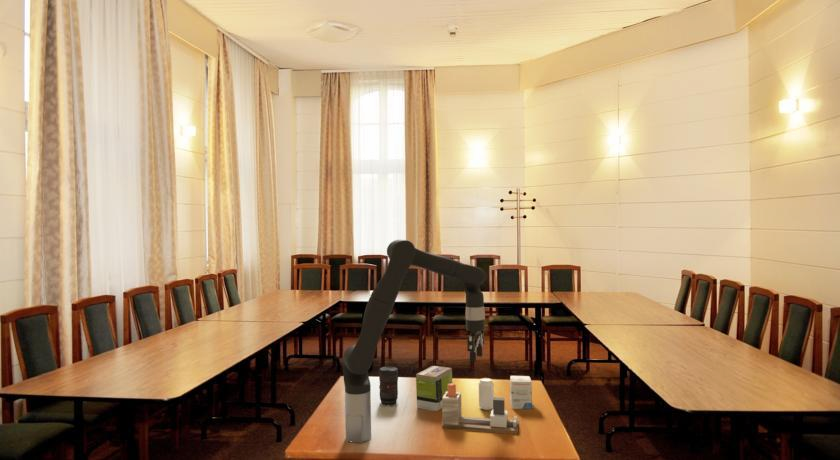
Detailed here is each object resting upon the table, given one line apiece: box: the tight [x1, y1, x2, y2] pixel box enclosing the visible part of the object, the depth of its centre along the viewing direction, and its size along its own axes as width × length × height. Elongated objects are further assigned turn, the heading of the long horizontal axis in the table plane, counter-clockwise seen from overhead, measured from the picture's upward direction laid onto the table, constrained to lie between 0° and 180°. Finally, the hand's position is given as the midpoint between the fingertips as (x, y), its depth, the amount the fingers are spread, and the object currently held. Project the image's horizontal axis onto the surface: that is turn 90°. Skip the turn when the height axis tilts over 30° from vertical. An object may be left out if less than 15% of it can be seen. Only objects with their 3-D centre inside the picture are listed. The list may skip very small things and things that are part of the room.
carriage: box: [489, 396, 509, 428], centre depth 197 cm, size 7×6×9 cm
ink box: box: [509, 375, 533, 410], centre depth 221 cm, size 9×8×12 cm
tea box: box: [415, 365, 453, 412], centre depth 223 cm, size 15×10×15 cm, turn 149°
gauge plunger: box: [448, 382, 457, 397], centre depth 201 cm, size 3×3×10 cm
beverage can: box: [478, 377, 495, 411], centre depth 218 cm, size 6×6×12 cm
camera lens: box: [378, 366, 399, 406], centre depth 226 cm, size 8×8×15 cm
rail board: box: [441, 391, 520, 435], centre depth 199 cm, size 10×28×11 cm, turn 76°
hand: (476, 358), depth 204 cm, fingers open, 8 cm apart
